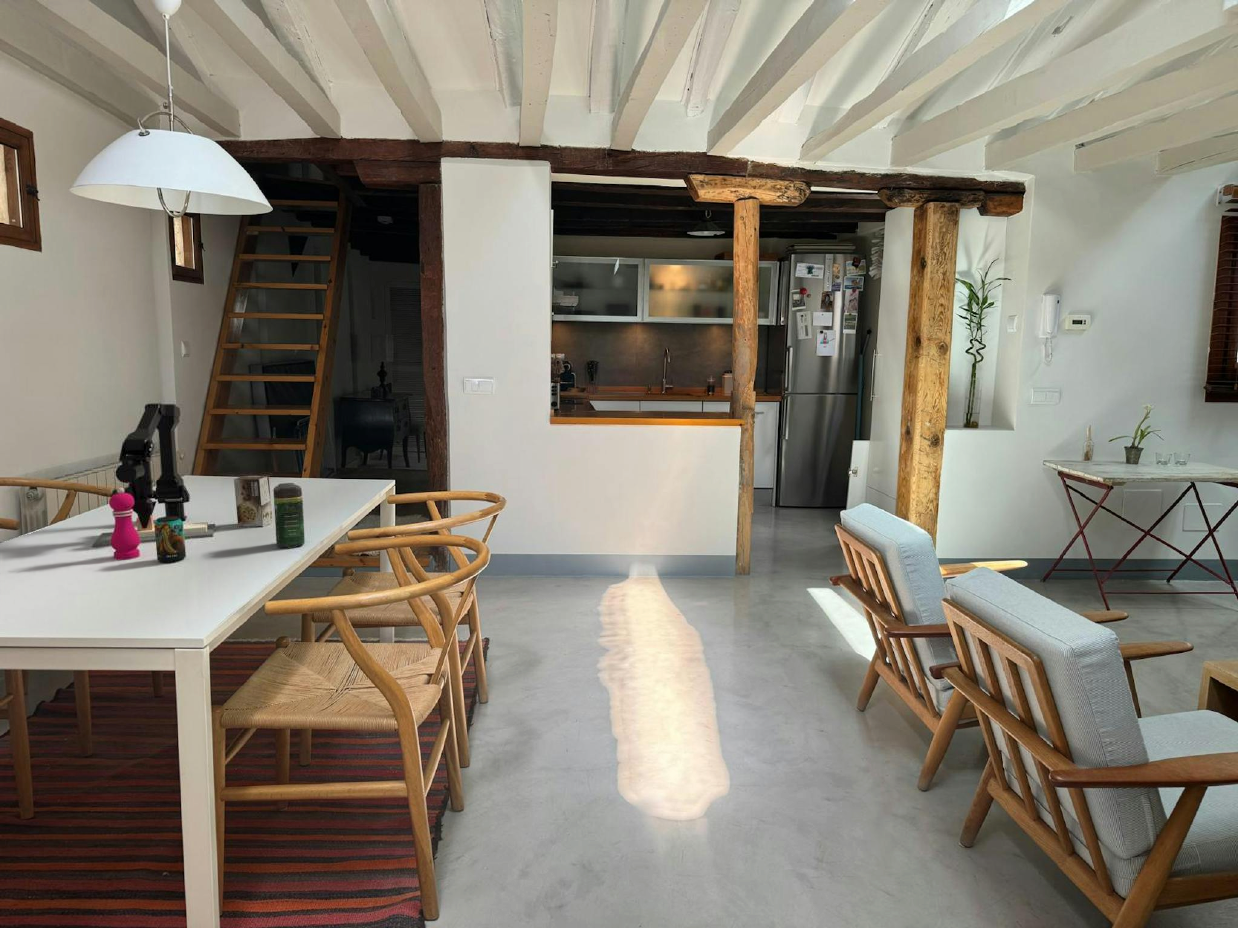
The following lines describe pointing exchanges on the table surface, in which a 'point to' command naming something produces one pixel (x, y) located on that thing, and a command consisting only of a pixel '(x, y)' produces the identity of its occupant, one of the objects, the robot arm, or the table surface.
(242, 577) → the table surface
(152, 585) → the table surface
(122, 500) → the pepper mill
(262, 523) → the coffee box
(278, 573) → the table surface
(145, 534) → the stub
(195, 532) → the mat
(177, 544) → the beverage can
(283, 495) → the coffee jar
